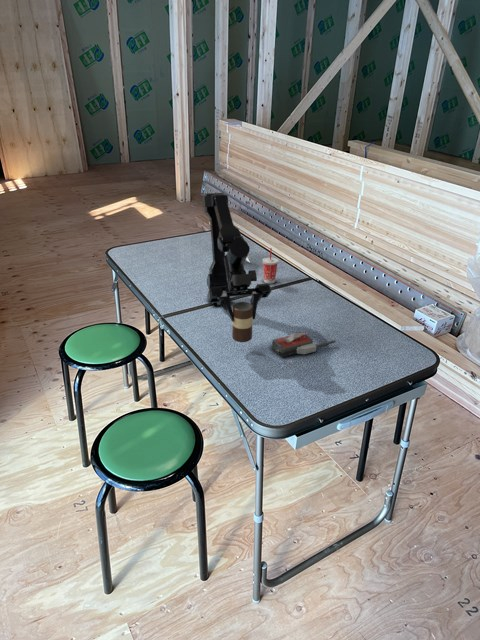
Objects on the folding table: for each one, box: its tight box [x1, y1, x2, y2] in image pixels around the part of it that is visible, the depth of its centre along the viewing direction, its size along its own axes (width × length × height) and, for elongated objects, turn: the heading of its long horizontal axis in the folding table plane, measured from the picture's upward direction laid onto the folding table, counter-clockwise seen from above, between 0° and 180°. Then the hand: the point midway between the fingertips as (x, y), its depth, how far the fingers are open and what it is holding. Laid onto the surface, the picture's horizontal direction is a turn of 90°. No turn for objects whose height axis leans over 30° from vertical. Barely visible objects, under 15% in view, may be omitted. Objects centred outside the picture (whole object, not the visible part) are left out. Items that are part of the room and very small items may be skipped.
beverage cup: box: [262, 247, 279, 284], centre depth 193 cm, size 6×6×14 cm
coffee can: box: [231, 301, 254, 343], centre depth 146 cm, size 6×6×11 cm
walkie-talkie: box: [271, 331, 336, 357], centre depth 151 cm, size 9×4×20 cm
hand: (243, 320), depth 144 cm, fingers closed on coffee can, 6 cm apart
